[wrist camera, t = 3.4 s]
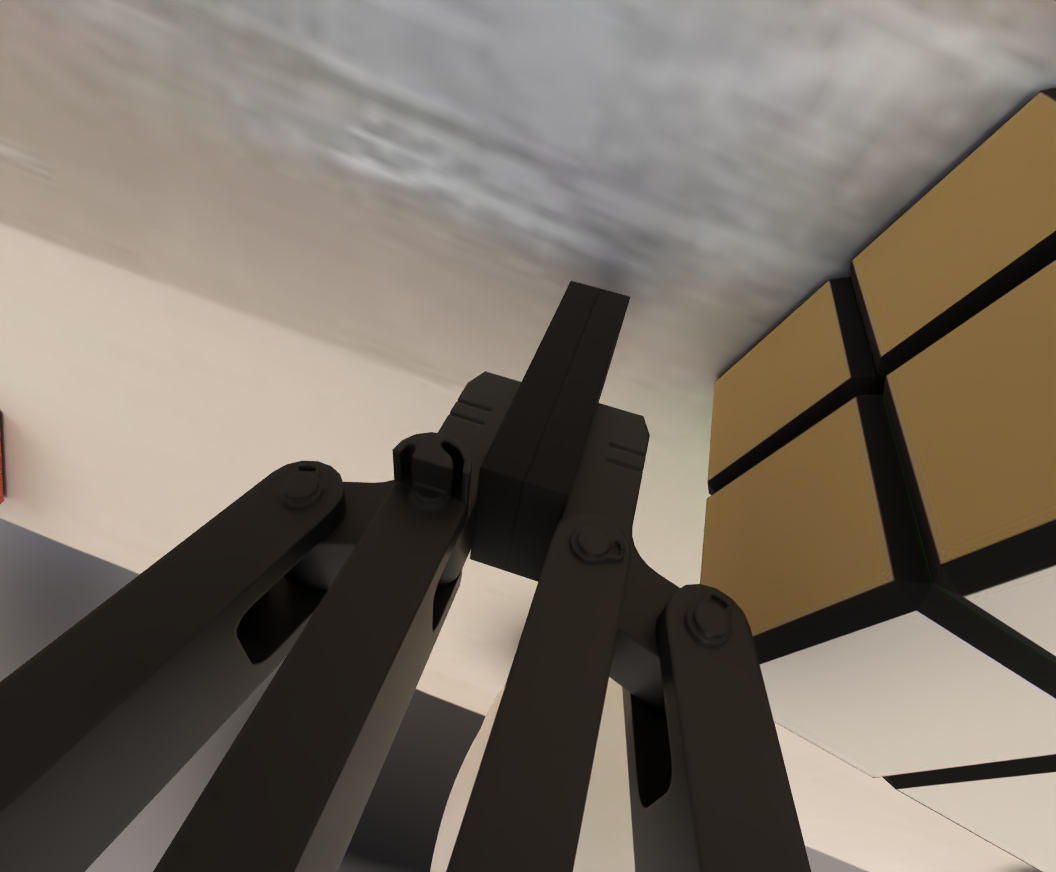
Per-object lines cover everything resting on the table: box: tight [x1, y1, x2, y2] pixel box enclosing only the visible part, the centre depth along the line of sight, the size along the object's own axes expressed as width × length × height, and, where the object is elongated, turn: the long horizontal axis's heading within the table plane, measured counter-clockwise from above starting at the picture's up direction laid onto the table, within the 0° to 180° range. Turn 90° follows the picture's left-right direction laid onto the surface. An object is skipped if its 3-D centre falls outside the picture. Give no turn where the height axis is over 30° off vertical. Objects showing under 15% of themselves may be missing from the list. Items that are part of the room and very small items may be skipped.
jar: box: [430, 677, 635, 872], centre depth 28 cm, size 11×10×15 cm
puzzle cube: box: [700, 88, 1056, 872], centre depth 12 cm, size 10×10×10 cm
